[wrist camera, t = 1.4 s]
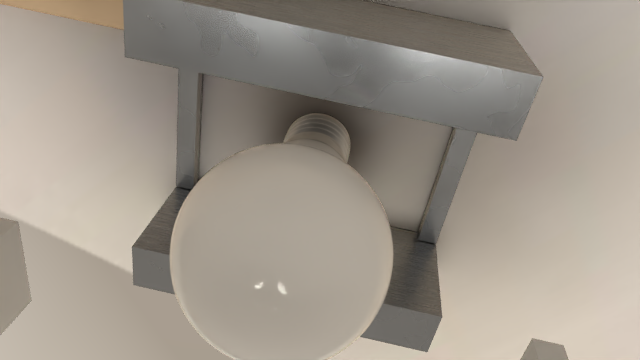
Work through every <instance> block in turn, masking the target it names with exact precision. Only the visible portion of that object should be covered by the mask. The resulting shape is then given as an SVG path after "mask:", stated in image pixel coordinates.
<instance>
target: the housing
mask: <svg viewBox="0 0 640 360" xmlns="http://www.w3.org/2000/svg"><path fill="white" fill-rule="evenodd" d="M123 17H124V44H125V57H127V58H132V59H137V60H141V61H146V62H151V63H155V64H160V65H165V66H169V67H174V68H179V74H178V122H177V171H176V186H177V187H176V188H175V189H174V191H173V192H172V193H171V195H170V196H169V197H168V199H167V200H166V201H165V203H164V204H163V205H162V207H161V208H160V210H159V211H158V212H157V214H156V215H155V216H154V218H153V219H152V220H151V222H150V223H149V224H148V226H147V227H146V229H145V230H144V231H143V233H142V234H141V235H140V237H139V238H138V239H137V241H136V242H135V243H134V245H133V246H132V257H133V283H134V285H137V286H141V287H145V288H149V289H154V290H158V291H162V292H167V293H171V294H175V292H174V288H173V285H172V280H171V274H170V264H169V252H170V241H171V235H172V231H173V227H174V223H175V220H176V217H177V215H178V212H179V210H180V208H181V206H182V204H183V202H184V201H185V199H186V197H187V196H188V194H189V193H190V191H191V190H192V189H193V187H194V186H195V185H196V184H197V182H198V168H199V147H200V126H201V105H202V84H203V74H207V75H211V76H216V77H221V78H225V79H230V80H235V81H239V82H244V83H249V84H253V85H258V86H263V87H267V88H272V89H277V90H281V91H286V92H291V93H295V94H300V95H305V96H310V97H314V98H319V99H324V100H328V101H333V102H338V103H342V104H347V105H352V106H356V107H361V108H366V109H370V110H375V111H380V112H384V113H389V114H394V115H398V116H403V117H408V118H412V119H417V120H422V121H426V122H431V123H436V124H440V125H445V126H450V127H454V128H453V131H452V134H451V137H450V139H449V142H448V145H447V148H446V151H445V154H444V157H443V160H442V163H441V166H440V169H439V172H438V175H437V177H436V180H435V183H434V186H433V189H432V192H431V195H430V198H429V201H428V204H427V207H426V210H425V213H424V215H423V218H422V221H421V224H420V227H419V230H418V233H417V232H413V231H408V230H404V229H399V228H394V227H390V228H391V233H392V238H393V248H394V261H393V271H392V277H391V282H390V286H389V289H388V292H387V295H386V298H385V300H384V302H383V305H382V307H381V309H380V311H379V312H378V314H377V316H376V317H375V319H374V320H373V322H372V323H371V324H370V326H369V327H368V328H367V329H366V331H365V332H364V333H363V334H362V335H361V336H360V337H363V338H368V339H372V340H376V341H381V342H385V343H390V344H394V345H398V346H403V347H407V348H411V349H416V350H420V351H425V352H428V349H429V347H430V345H431V342H432V340H433V337H434V335H435V333H436V330H437V328H438V326H439V323H440V321H441V318H442V310H441V299H440V288H439V277H438V266H437V255H436V242H437V239H438V237H439V234H440V231H441V228H442V226H443V223H444V220H445V218H446V215H447V212H448V210H449V207H450V204H451V202H452V199H453V196H454V193H455V191H456V188H457V185H458V183H459V180H460V177H461V175H462V172H463V169H464V167H465V164H466V161H467V159H468V156H469V153H470V150H471V148H472V145H473V142H474V140H475V137H476V134H477V132H478V133H482V134H487V135H492V136H496V137H501V138H506V139H510V140H515V141H517V138H518V136H519V134H520V131H521V129H522V126H523V124H524V122H525V119H526V117H527V115H528V112H529V110H530V108H531V105H532V103H533V100H534V98H535V96H536V93H537V91H538V89H539V86H540V84H541V81H542V79H543V76H542V74H541V73H540V72H539V70H538V69H537V67H536V66H535V65H534V63H533V62H532V60H531V59H530V58H529V56H528V55H527V53H526V52H525V51H524V49H523V48H522V46H521V45H520V44H519V42H518V41H517V40H516V38H515V37H514V35H513V34H512V33H511V31H509V30H504V29H499V28H494V27H490V26H485V25H480V24H475V23H470V22H465V21H461V20H456V19H451V18H446V17H441V16H436V15H432V14H427V13H422V12H417V11H412V10H407V9H403V8H398V7H393V6H388V5H383V4H378V3H374V2H369V1H364V0H123Z"/></svg>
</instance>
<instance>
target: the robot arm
mask: <svg viewBox="0 0 640 360" xmlns="http://www.w3.org/2000/svg"><path fill="white" fill-rule="evenodd" d="M30 302H31V294H30V288H29V282H28V276H27V271H26V264H25V258H24V253H23V247H22V241H21V235H20V229H19V223H18V222H17V221H13V220H9V219H4V218H0V335H1V334H2V333H3V332H4V331H5V329H6V328H7V327H8V326H9V325H10V324H11V323H12V322H13V321H14V320H15V318H16V317H17V316H18V315H19V314H20V313H21V312H22V311H23V310H24V308H25V307H26V306H27V305H28V304H29V303H30ZM520 360H568V357H567V354H566V351H565V348H564V346H563V345H559V344H555V343H551V342H546V341H542V340H537V339H533V338H532V340H531V342H530V343H529V345H528V347H527V349H526V351H525V352H524V354H523V356H522V358H521V359H520Z"/></svg>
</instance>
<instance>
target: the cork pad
mask: <svg viewBox="0 0 640 360" xmlns="http://www.w3.org/2000/svg"><path fill="white" fill-rule="evenodd" d="M0 4H4V5H9V6H13V7H18V8H23V9H27V10H32V11H37V12H42V13H46V14H51V15H56V16H60V17H65V18H70V19H74V20H79V21H84V22H89V23H93V24H98V25H103V26H107V27H112V28H117V29H122V30H124V17H123V0H0Z"/></svg>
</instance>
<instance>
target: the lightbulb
mask: <svg viewBox="0 0 640 360" xmlns="http://www.w3.org/2000/svg"><path fill="white" fill-rule="evenodd" d="M350 145H351V144H350V137H349V134H348V132H347V130H346V129H345V127H344V126H343V125H342V124H341V123H340V122H339V121H338V120H336V119H335V118H333V117H331V116H329V115H325V114H320V113H313V114H307V115H304V116H302V117H300V118H298V119H297V120H296V121H295V122H293V124H292V125H291V126H290V128H289V130H288V132H287V134H286V136H285V139H284V141H283V143H273V144H265V145H260V146H256V147H252V148H249V149H246V150H243V151H240V152H238V153H236V154H234V155H232V156H230V157H228V158H226V159H225V160H223V161H221V162H220V163H218V164H217V165H216V166H214V167H213V168H212V169H211V170H209V171H208V172H207V173H206V174H205V175H204V176H203V177H202V178H201V179H200V180H199V181H198V182H197V184H196V185H195V186H194V187H193V189H192V190H191V191H190V193H189V194H188V196H187V197H186V199H185V201H184V202H183V204H182V206H181V208H180V210H179V212H178V215H177V217H176V220H175V223H174V227H173V231H172V235H171V241H170V252H169V264H170V274H171V280H172V285H173V288H174V292H175V295H176V297H177V300H178V303H179V305H180V307H181V309H182V311H183V312H184V314H185V316H186V318H187V319H188V321H189V322H190V324H191V325H192V326H193V327H194V329H195V330H196V331H197V332H198V334H199V335H200V336H201V337H202V338H203V339H204V340H205V341H207V342H208V343H209V344H210V345H211V346H213V347H214V348H215V349H217V350H218V351H220V352H221V353H223V354H224V355H226V356H228V357H230V358H232V359H234V360H327V359H329V358H331V357H333V356H335V355H336V354H338V353H340V352H341V351H343V350H344V349H346V348H347V347H349V346H350V345H351V344H352V343H353V342H355V341H356V340H357V339H358V338H359V337H360V336H361V335H362V334H363V333H364V332H365V331H366V329H367V328H368V327H369V326H370V324H371V323H372V322H373V320H374V319H375V317H376V316H377V314H378V312H379V311H380V309H381V307H382V305H383V302H384V300H385V298H386V295H387V292H388V289H389V286H390V282H391V277H392V271H393V261H394V248H393V238H392V233H391V228H390V224H389V221H388V218H387V215H386V213H385V210H384V208H383V206H382V204H381V202H380V200H379V198H378V197H377V195H376V193H375V192H374V190H373V189H372V188H371V186H370V185H369V184H368V183H367V181H366V180H365V179H364V178H363V177H362V176H361V175H360V174H359V173H358V172H357V171H356V170H355V169H353V168H352V167H351V166H350V165H348V159H349V153H350Z"/></svg>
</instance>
